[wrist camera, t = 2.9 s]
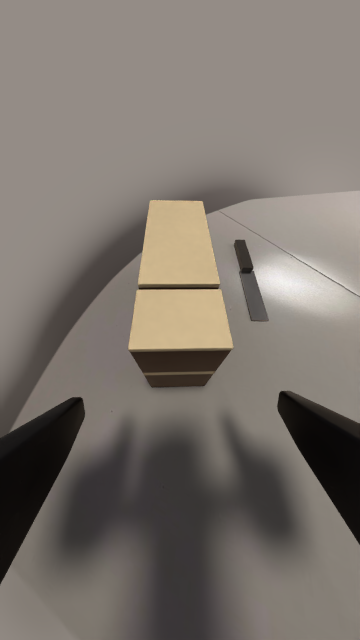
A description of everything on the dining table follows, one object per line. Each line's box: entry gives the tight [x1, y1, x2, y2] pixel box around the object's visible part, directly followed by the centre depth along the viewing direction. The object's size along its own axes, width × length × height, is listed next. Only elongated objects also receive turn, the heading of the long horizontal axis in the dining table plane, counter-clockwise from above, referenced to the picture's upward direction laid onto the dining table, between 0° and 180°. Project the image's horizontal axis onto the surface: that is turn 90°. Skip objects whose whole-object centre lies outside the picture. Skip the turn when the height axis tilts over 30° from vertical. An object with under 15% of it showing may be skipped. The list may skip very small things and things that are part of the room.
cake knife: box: [234, 240, 269, 321], centre depth 28 cm, size 18×2×1 cm, turn 179°
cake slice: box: [128, 289, 233, 387], centre depth 15 cm, size 4×6×11 cm
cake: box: [138, 200, 220, 290], centre depth 20 cm, size 13×6×11 cm, turn 2°
